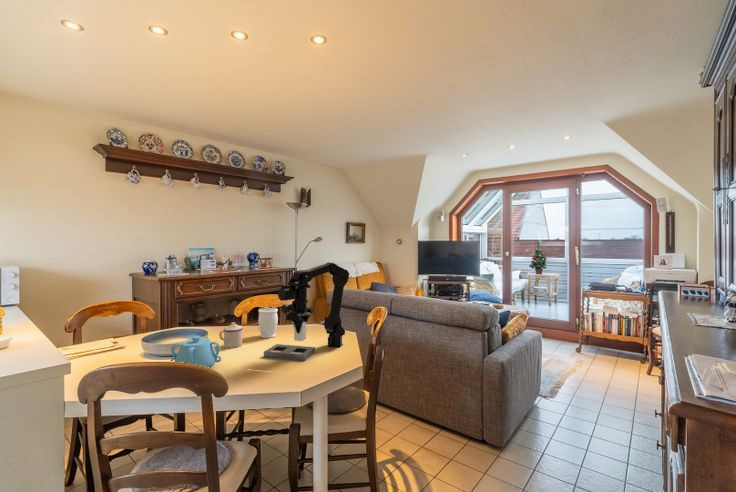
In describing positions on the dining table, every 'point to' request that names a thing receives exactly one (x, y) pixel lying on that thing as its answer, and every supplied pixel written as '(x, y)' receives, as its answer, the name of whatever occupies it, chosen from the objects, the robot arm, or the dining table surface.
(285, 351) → the grey socket board
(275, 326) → the jar
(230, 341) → the teacup with lid
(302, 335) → the plug
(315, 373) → the dining table surface
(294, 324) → the robot arm
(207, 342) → the decorative pot
